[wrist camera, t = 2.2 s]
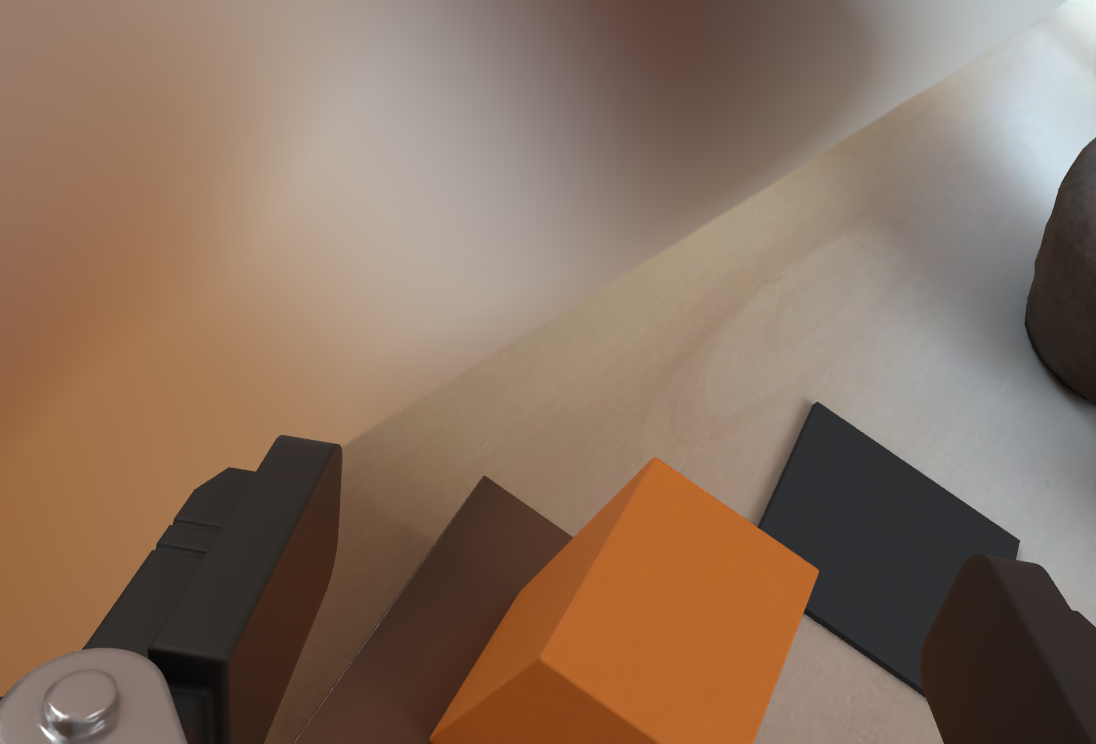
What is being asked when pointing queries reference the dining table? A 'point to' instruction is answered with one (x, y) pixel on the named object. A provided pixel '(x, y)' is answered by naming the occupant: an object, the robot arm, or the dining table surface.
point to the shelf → (437, 624)
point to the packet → (641, 630)
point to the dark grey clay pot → (1068, 281)
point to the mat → (874, 540)
